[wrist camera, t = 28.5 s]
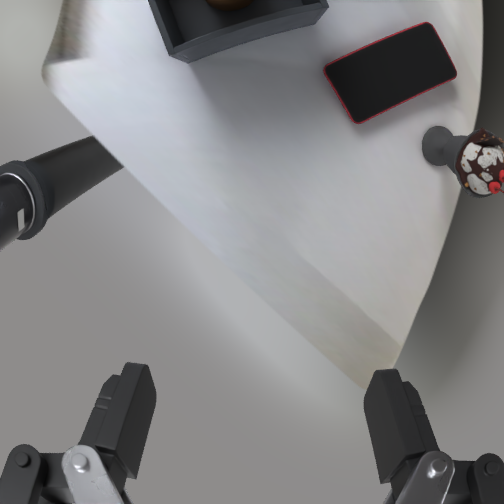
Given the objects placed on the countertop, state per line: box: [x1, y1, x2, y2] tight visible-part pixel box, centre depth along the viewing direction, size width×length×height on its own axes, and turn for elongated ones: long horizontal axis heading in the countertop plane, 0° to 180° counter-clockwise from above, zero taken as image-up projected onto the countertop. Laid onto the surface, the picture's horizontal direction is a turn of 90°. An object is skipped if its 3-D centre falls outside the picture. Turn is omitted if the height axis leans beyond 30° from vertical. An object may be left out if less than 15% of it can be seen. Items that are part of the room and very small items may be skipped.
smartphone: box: [323, 22, 457, 124], centre depth 28 cm, size 7×1×15 cm
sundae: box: [422, 126, 504, 198], centre depth 26 cm, size 7×7×15 cm
